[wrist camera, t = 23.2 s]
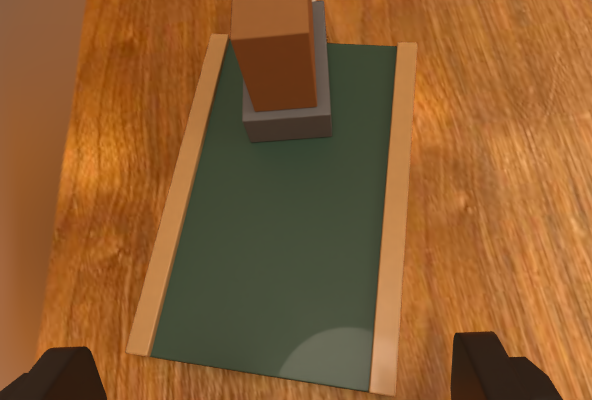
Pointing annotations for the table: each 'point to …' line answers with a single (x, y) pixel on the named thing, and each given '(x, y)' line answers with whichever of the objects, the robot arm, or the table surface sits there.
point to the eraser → (282, 68)
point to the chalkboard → (287, 231)
